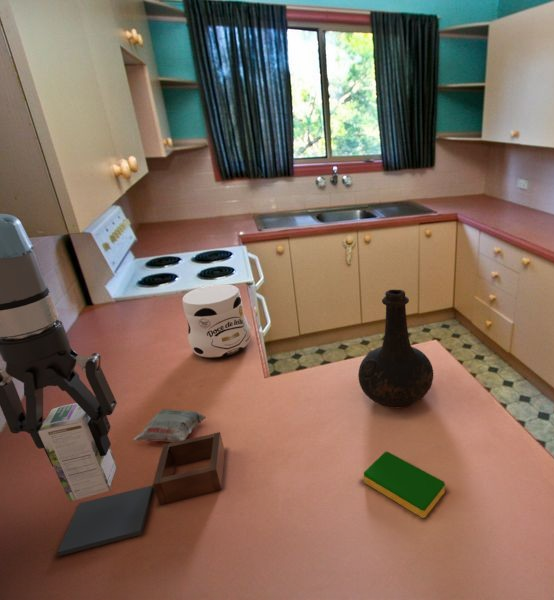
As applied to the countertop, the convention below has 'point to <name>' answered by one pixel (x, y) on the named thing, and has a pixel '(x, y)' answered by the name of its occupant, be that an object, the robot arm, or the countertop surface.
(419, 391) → the glass bottle
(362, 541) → the countertop surface
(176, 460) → the holder
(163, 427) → the packaged food
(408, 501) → the dish sponge
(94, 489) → the syrup box
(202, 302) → the doce de leite jar
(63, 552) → the mat
